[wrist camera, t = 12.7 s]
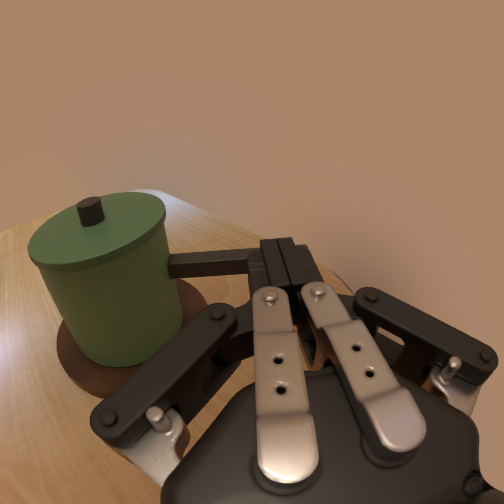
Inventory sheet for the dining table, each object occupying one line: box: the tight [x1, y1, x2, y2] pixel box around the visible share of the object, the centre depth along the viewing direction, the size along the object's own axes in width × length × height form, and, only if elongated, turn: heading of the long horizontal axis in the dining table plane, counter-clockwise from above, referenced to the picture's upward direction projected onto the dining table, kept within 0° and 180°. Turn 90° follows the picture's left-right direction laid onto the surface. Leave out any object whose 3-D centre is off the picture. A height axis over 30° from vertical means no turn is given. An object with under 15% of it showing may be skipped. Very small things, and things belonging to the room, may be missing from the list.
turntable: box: [57, 278, 208, 398], centre depth 26 cm, size 16×16×1 cm
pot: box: [28, 192, 310, 367], centre depth 23 cm, size 22×12×12 cm, turn 95°
